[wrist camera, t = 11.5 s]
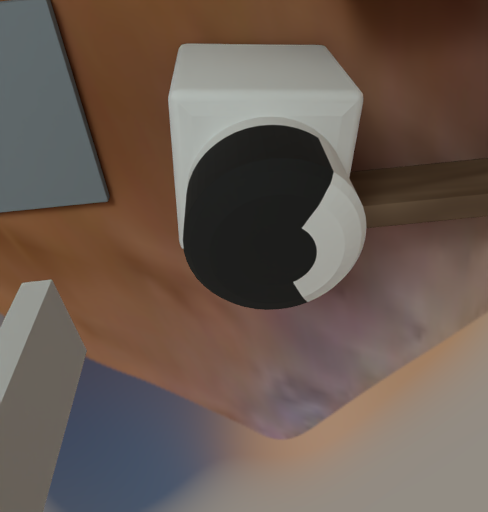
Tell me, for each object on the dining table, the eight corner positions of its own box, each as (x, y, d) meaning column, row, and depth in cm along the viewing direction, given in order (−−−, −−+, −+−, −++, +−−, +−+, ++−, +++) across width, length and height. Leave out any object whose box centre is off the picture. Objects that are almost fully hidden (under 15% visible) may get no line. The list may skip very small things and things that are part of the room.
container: (186, 177, 28) (172, 336, 18) (177, 41, 23) (152, 151, 13) (311, 176, 29) (367, 330, 18) (327, 43, 24) (416, 150, 14)
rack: (332, -72, 21) (354, -67, 18) (663, -106, 21) (744, -108, 18) (324, 195, 29) (338, 231, 26) (558, 171, 29) (600, 204, 26)
